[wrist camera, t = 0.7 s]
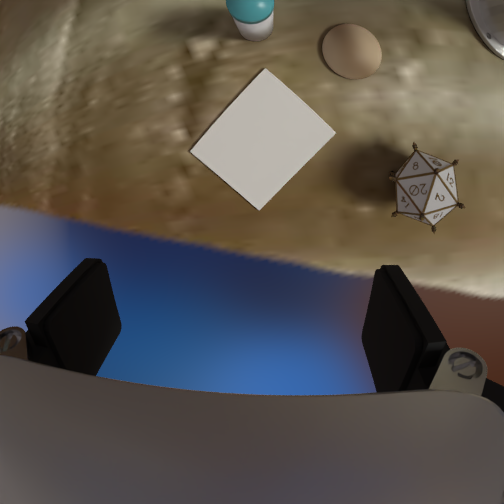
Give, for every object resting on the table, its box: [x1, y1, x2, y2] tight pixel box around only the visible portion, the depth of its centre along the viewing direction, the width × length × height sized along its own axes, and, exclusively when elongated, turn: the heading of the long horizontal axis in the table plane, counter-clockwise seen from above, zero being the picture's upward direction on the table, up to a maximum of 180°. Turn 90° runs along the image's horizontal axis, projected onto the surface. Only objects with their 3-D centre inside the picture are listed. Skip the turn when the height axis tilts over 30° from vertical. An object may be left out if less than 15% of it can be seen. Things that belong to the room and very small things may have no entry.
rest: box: [322, 24, 382, 79], centre depth 27 cm, size 6×6×1 cm
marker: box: [226, 0, 274, 41], centre depth 23 cm, size 4×4×9 cm
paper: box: [190, 68, 336, 210], centre depth 32 cm, size 12×10×1 cm
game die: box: [389, 142, 465, 234], centre depth 29 cm, size 9×8×10 cm
